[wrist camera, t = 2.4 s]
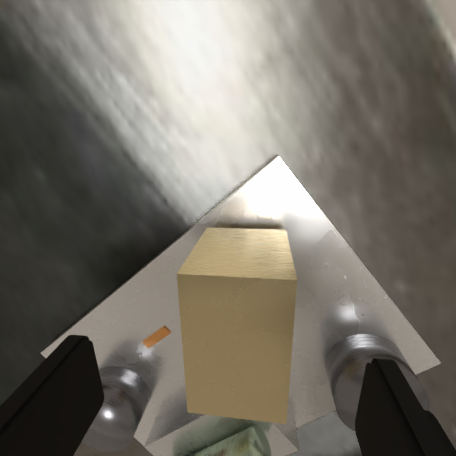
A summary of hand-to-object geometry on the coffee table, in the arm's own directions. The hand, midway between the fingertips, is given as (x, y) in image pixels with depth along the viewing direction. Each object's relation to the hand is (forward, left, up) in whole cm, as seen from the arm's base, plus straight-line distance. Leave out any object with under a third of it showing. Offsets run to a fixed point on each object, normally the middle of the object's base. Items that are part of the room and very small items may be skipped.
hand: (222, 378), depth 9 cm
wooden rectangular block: (-2, +1, -8) cm, 9 cm away
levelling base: (-5, +6, -10) cm, 13 cm away
